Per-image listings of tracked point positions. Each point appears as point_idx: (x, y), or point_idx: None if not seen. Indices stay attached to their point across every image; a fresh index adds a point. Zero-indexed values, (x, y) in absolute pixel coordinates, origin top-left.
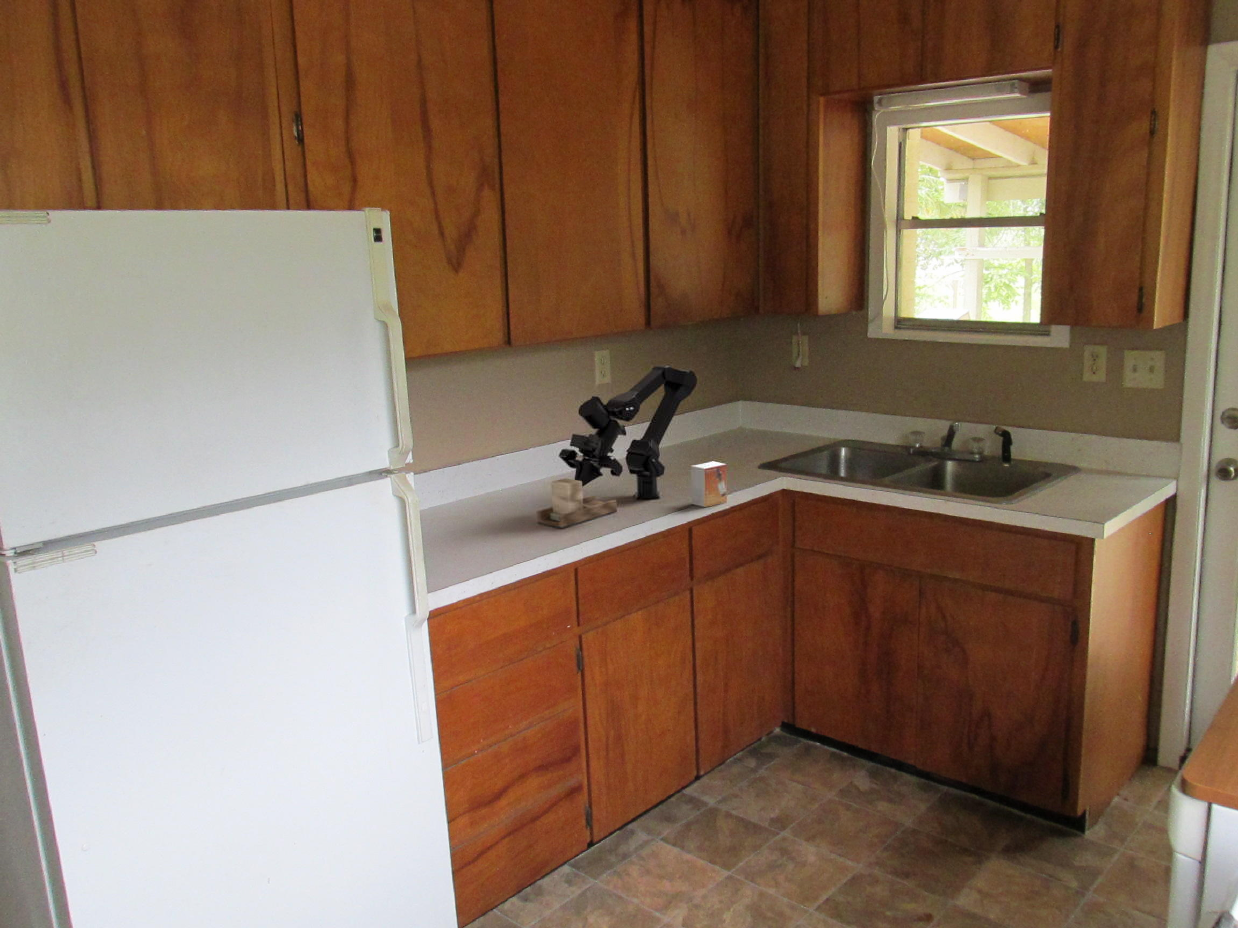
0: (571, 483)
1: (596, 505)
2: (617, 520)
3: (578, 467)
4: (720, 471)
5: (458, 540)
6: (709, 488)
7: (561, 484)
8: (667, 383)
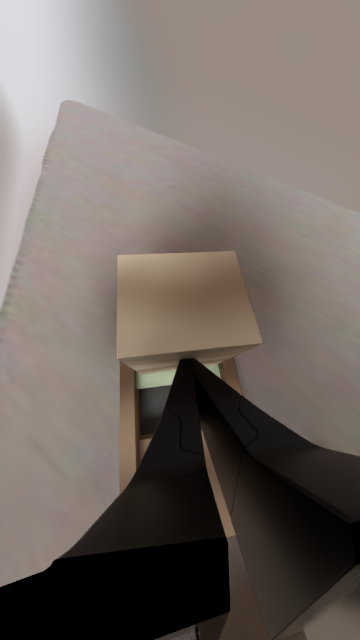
0: (127, 286)
1: (127, 433)
2: (55, 454)
3: (284, 457)
4: None
5: (209, 175)
6: None
7: (162, 255)
8: None
